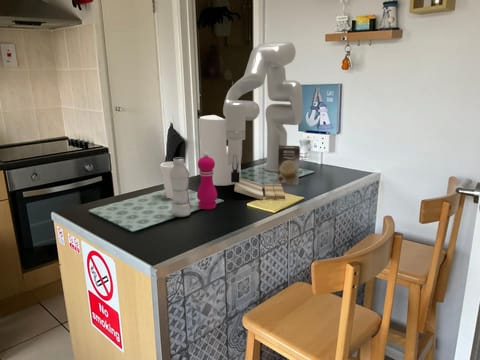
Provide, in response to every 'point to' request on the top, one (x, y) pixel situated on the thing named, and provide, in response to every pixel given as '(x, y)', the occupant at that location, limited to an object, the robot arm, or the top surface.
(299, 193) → the top surface
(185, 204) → the plastic bottle
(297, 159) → the coffee box
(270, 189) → the oak floorboards
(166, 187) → the foam cup
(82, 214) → the top surface
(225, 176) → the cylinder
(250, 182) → the birch plank
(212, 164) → the pepper mill
